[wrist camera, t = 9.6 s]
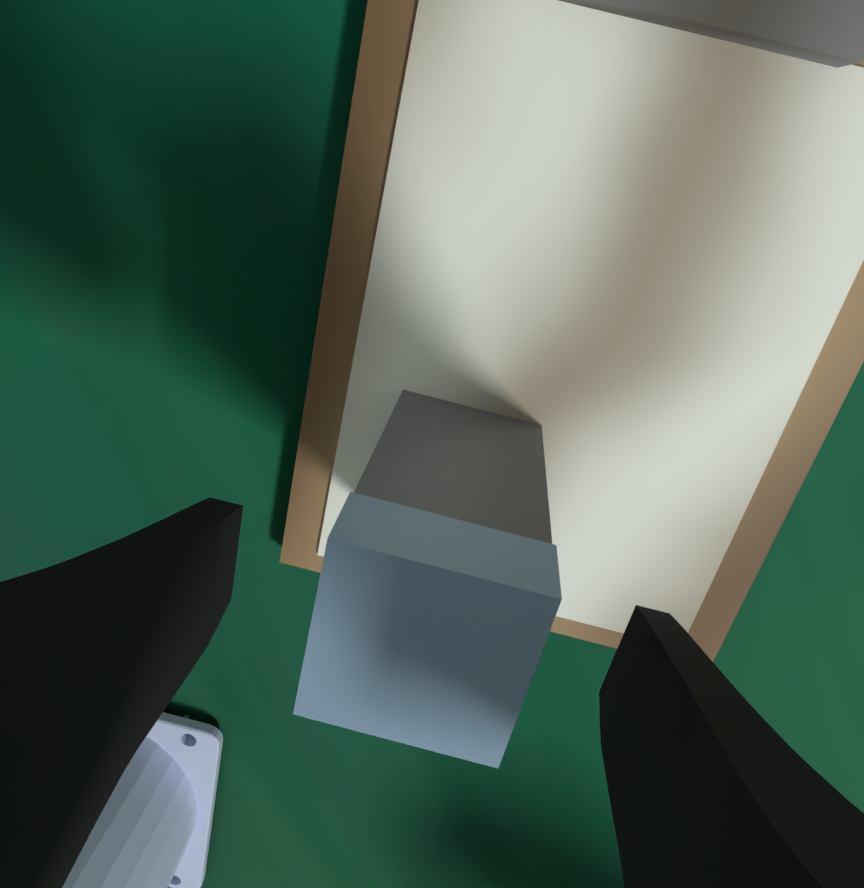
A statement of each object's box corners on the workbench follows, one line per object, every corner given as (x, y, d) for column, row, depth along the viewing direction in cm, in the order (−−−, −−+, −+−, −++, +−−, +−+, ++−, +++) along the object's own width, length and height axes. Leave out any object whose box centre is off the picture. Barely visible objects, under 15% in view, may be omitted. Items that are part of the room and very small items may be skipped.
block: (373, 511, 18) (293, 714, 11) (401, 386, 16) (327, 538, 10) (505, 546, 18) (498, 768, 11) (544, 424, 16) (561, 599, 10)
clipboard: (286, 550, 19) (266, 585, 18) (399, -154, 13) (383, -195, 11) (702, 656, 19) (718, 701, 18) (1027, -4, 13) (1097, -25, 11)
